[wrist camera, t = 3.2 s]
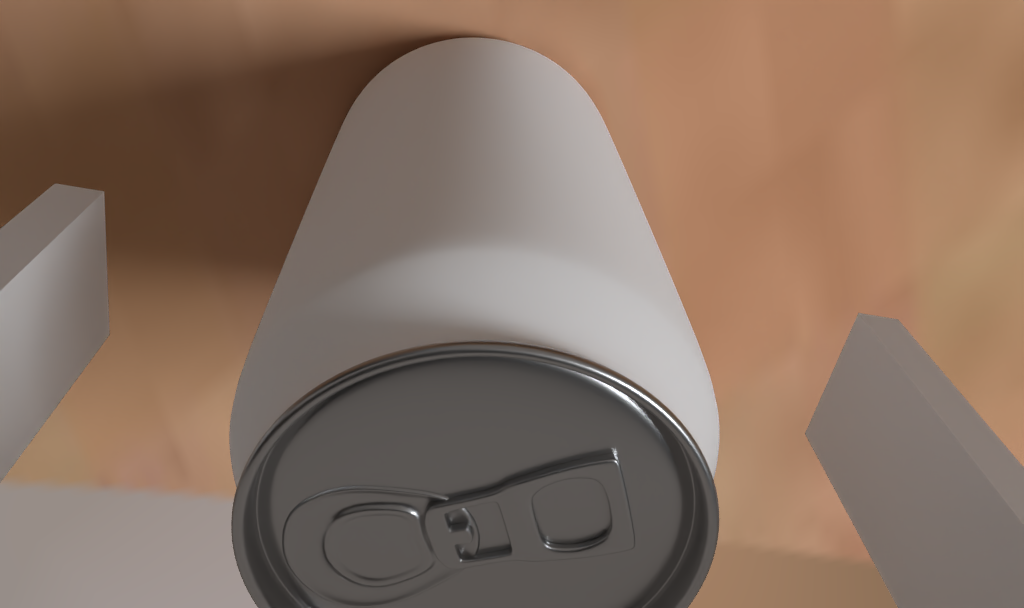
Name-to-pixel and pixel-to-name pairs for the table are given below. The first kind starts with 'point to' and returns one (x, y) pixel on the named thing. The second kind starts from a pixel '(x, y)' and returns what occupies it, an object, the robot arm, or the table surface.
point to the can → (474, 364)
